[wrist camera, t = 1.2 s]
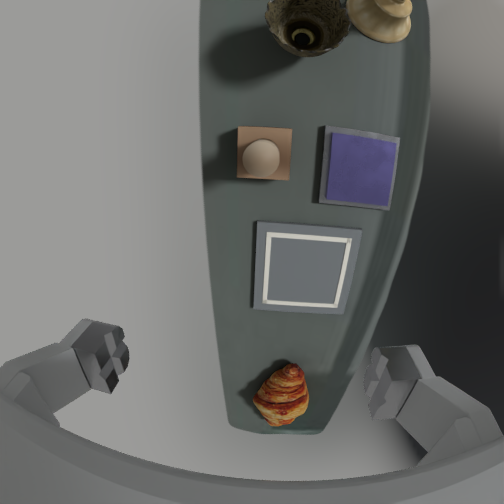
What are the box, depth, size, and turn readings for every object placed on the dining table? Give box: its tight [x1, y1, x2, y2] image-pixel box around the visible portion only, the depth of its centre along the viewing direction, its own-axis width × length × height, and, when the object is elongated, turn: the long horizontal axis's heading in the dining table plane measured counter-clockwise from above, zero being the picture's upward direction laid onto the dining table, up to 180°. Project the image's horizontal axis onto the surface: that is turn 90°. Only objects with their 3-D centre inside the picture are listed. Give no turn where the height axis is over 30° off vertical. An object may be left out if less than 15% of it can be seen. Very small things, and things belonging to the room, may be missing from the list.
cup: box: [265, 0, 352, 57], centre depth 21 cm, size 8×7×8 cm
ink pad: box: [318, 126, 400, 210], centre depth 30 cm, size 9×9×2 cm
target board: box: [253, 220, 362, 314], centre depth 37 cm, size 13×13×1 cm
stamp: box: [237, 126, 292, 180], centre depth 27 cm, size 6×6×8 cm
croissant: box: [253, 363, 309, 426], centre depth 47 cm, size 21×10×8 cm, turn 175°
